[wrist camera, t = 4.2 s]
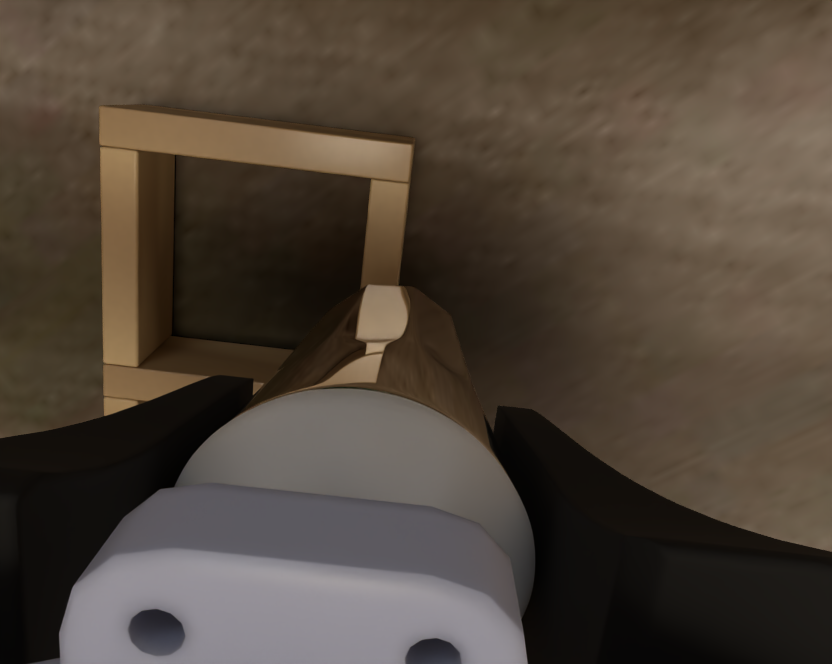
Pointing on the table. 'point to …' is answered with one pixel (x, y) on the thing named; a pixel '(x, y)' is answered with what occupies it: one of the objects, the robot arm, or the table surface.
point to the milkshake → (376, 423)
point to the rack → (154, 232)
